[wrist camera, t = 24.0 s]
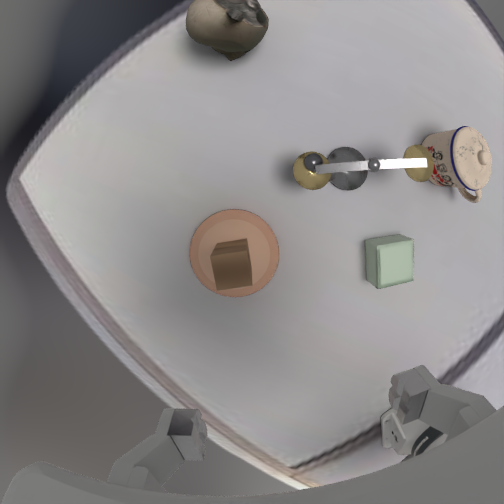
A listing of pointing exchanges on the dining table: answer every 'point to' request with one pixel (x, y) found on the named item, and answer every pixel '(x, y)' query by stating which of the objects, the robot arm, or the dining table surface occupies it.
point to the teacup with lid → (460, 160)
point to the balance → (357, 167)
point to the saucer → (229, 229)
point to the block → (231, 264)
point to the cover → (389, 260)
